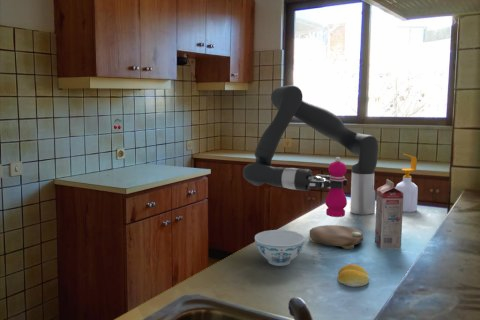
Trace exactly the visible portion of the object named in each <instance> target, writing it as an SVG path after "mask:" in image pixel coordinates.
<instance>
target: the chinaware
mask: <svg viewBox="0 0 480 320" xmlns="http://www.w3.org/2000/svg"><path fill="white" fill-rule="evenodd" d="M305 239H306V237H304V235H303V234H301V233H299V232H297V231H293V230H287V229H273V230H272V229H270V230H264V231H261V232H260V231H259V232H258V233H256V234H255V235H254V243H255V245H256V248H257V250H258V252H259V253H260V254H261V256H262V257H264V259H266V260H267V262H268V264H270V265H272V266H277V267H284V266H287V265H289V264H291V261H293V260H294V259H295V258H297V256H298V255H299V254H300V253H301V251H302V250H303V246H304V244H305Z"/></svg>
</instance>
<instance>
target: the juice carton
mask: <svg viewBox="0 0 480 320" xmlns="http://www.w3.org/2000/svg"><path fill="white" fill-rule="evenodd" d="M403 195H404V193H402V192H401V191H399V190H398V189H396V186H395V183H394V182H393V181H391V180H389V179H388V178H387V179H386V181H385V184H384V185H382V186H379V187H378V188H377V189H376V196H375V222H374V223H375V226H374V244H376V246H377V247H379V249H380V250H388V249H390V250H394V249H395V250H401V249H402V235H403V234H402V230H403V214H404V212H403Z"/></svg>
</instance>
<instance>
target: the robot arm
mask: <svg viewBox="0 0 480 320" xmlns="http://www.w3.org/2000/svg"><path fill="white" fill-rule="evenodd" d="M270 96H271V97H270V99H271V104H272V105H273V106H274V107H275V108H276V109H277V113H276V115H275V117H274V118H273V120H272V121H271V122H270V124H269V125H268V127H266V129H265V130H264V131H263V133H262V135H261V137H260V139H259V141H258V143H257V146H256V148H255V151H254V156H255V162H254V163H253V162H252V163H248V164H247V165H245V166H244V168H243V170H242V176H243V178H244V180H245V181H247V182H248V183H250V184H252V185H254V186H256V187H257V186H258V187H259V186H262V185H264V184H268V185H270V186H272V187H275V188H276V187H277V188H283V189H284V188H285V189H289V190H295V191H296V190H297V191H305V192H306V191H307V192H309V191H310V190H312V189H321V190H327V189H330V188H338V189H342V188H343V189H344V187H345V186H347V185H348V179H346V178H344V179H345V180H344V181H343V182H337V181H331V180H330V175H331V174H330V175H329V174H323V173H322V174H316V175H314V174H313V171H312V170H311V169H309V168H298V167H297V168H296V167H280V166H279V167H278V166H277V167H276V166H272V161H273V158H274V156H275V154H276V152H277V148H278V146H279V144H280V141H281V140H282V138H283V136H284V133H285V132H286V130H287V128H288V126H289V124H290V123H291V121H292V119H293V118H296V119H297V120H299V121H301V122H302V123H304V124H305V125H306V126H308V127H310V128H312V129H313V130H315V131H316V132H317V133H319V134H321V135H323V136H325V137H327V138H328V139H331V140H332V141H334V142H336V143H339V144H340V145H341V146H343V147H344V148H345V149H346V150H347V151H349V152H350V153H351V154H353V155H355V156H358V161H357V163H355V164H353V165H352V166H351V179H350V180H351V181H350V183H351V184H350V213H352V214H354V215H363V216H364V215H365V216H366V215H367V216H368V215H372V214H374V213H376V190H375V187H374V186H375V169H376V167H377V164H378V154H379V142H378V140H377V138H376V137H375V136H373V135H371V134H364V133H358V132H356V131H354V130H351V129H350V128H348V127H347V126H346V125H345V124H344V122H343V120H342V119H341V118H340V117H339V116H337V115H336V114H334V113H333V112H331V111H330V110H328V109H326V108H324V107H321V106H318V105H315V104H313V103H309V102H307V101H304V100H303V92H302V90H301V89H300V88H299V87H298V86H297V85H293V84H292V85H282V86H279V87H276V88H274V89H273V90H272V92H271V95H270Z"/></svg>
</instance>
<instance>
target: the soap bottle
mask: <svg viewBox="0 0 480 320" xmlns="http://www.w3.org/2000/svg"><path fill="white" fill-rule="evenodd" d="M403 156H408V157H409V158H410V159H411V161H410V168H401V169H400V171H403V173H405V175H403V176H402V180H401V181H400V182H398V183H397V184H396V186H395V188H396V189H398V190H399V191H401V192H402V193H404V195H403V213H404V212H405V213H413V212H416V211H417V209H418V194H419V193H418V191H419V190H418V189H419V188H418V185H416V184H415V183H414V182H412V175H410V174H411V173H412V172H415V171H416V170H417V163H418V162H417V161H418V159H417V157H416V156H413V155H410V154H407V153H403Z"/></svg>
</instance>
